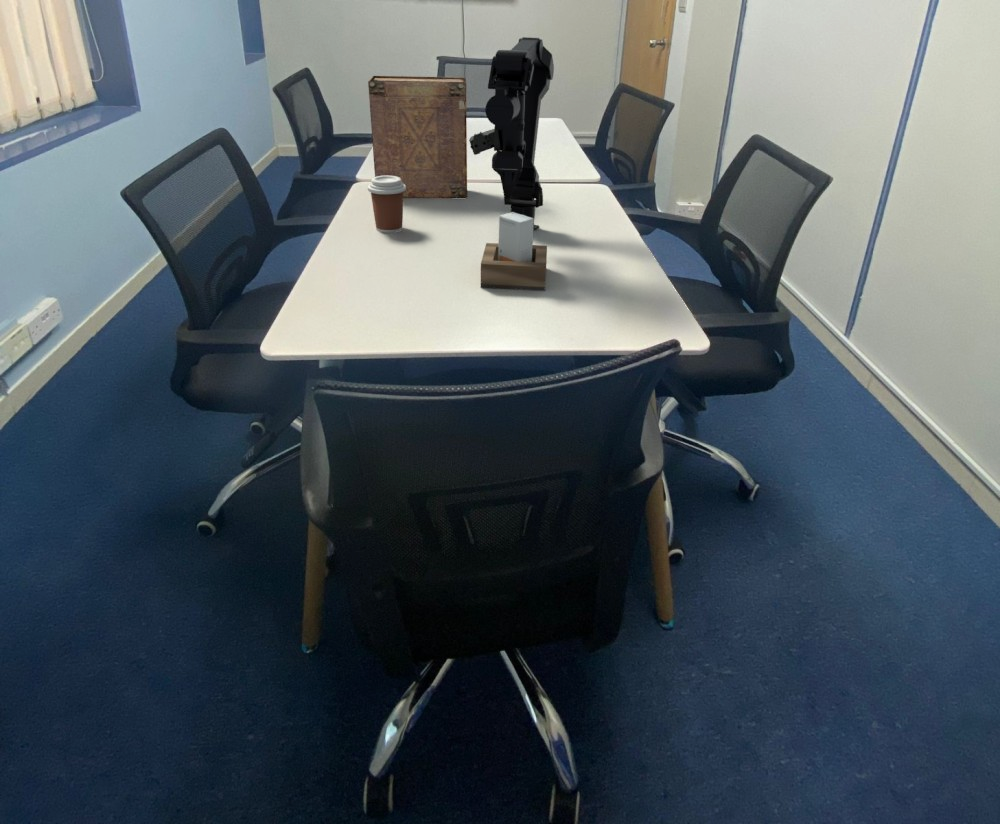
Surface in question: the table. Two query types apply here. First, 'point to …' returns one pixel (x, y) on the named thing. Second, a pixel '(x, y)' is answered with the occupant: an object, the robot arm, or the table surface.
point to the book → (420, 133)
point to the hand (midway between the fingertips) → (508, 193)
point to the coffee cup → (387, 202)
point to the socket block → (513, 270)
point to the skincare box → (515, 237)
